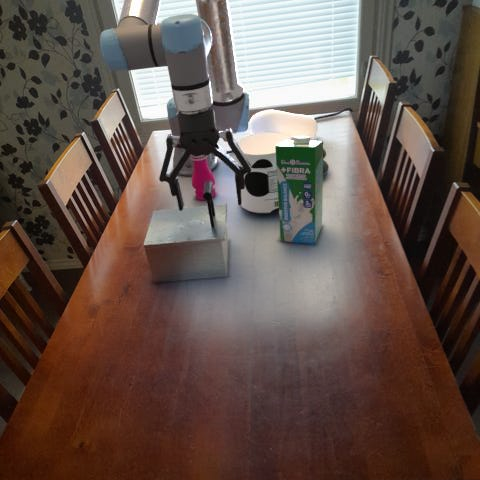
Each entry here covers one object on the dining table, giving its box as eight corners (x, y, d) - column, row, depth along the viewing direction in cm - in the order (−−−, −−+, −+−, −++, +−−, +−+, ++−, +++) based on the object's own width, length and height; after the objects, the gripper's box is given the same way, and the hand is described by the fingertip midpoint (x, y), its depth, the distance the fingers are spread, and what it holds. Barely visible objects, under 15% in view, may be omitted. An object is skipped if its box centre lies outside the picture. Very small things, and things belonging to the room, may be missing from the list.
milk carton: (322, 226, 121) (323, 130, 104) (314, 244, 115) (315, 146, 98) (289, 223, 124) (285, 130, 107) (280, 241, 117) (275, 145, 101)
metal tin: (228, 240, 120) (223, 207, 114) (227, 276, 109) (221, 241, 102) (162, 246, 122) (154, 213, 115) (154, 282, 110) (144, 248, 103)
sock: (318, 108, 163) (320, 128, 155) (315, 134, 171) (317, 154, 163) (248, 108, 165) (247, 127, 156) (249, 134, 172) (247, 153, 164)
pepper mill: (194, 191, 144) (181, 127, 131) (216, 188, 144) (206, 124, 130) (194, 202, 139) (181, 136, 125) (217, 199, 138) (207, 132, 125)
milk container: (254, 187, 142) (249, 128, 129) (306, 194, 134) (305, 133, 122) (228, 214, 131) (219, 153, 119) (283, 223, 124) (280, 159, 112)
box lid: (227, 206, 114) (222, 169, 107) (225, 240, 102) (219, 201, 96) (154, 213, 115) (144, 177, 109) (144, 248, 103) (132, 210, 97)
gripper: (130, 121, 89) (155, 218, 103) (257, 107, 87) (265, 207, 101) (136, 109, 94) (159, 202, 108) (256, 95, 92) (263, 192, 106)
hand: (210, 205), depth 105 cm, fingers open, 13 cm apart
